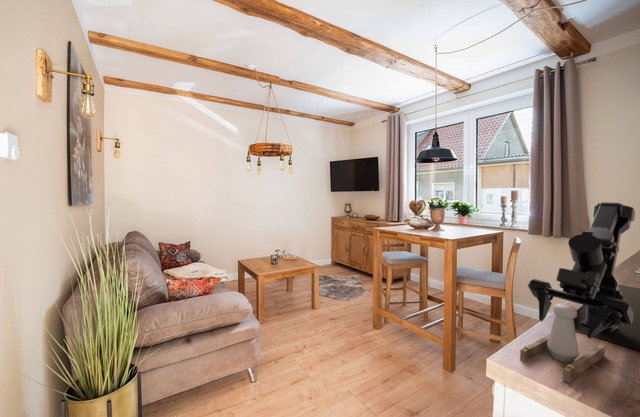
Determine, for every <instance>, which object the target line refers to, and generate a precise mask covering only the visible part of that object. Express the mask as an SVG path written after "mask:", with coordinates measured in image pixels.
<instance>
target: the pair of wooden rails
mask: <svg viewBox="0 0 640 417" xmlns="http://www.w3.org/2000/svg"><path fill="white" fill-rule="evenodd" d="M549 336H550V333H548V335H546V336H544V337H542V338H540V339H538V340H536V341H534V342H533V343H530V344H529V345H525V346H523V348H520V353H519V361H522V362H527V361H529V360H531V359H532V358H534V357H536V356H538V355H539V354H541V353H543V352H545V351H546V350H549V349H548V345H547V343H548V339H549ZM605 352H606V346H605V345H603V344H597V345H596V346H595V347H593V348H592V349H590V350H588V351H587V352H585V354H583V355H581V356H580V357H579V358H576V359H575V360H574V361H573V362H572V363H567V365H566V366H565V367H564V368H563V369H562V381H564V382H566V383H571V382H572V381H574V379H576V378H578V377H579V376H580V375H581V374H583V373H584V372H586V371H587V370H588V369H589V368H591V367H592V366H593V365H594V364H596V363H598V361H600V360H601V359H603V358H604V357H605Z"/></svg>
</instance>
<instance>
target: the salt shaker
mask: <svg viewBox="0 0 640 417" xmlns="http://www.w3.org/2000/svg"><path fill="white" fill-rule="evenodd" d="M552 311H553V313H554V315H555V317H554V320H553V322H552V327H551V330H550V333H549V334H550V336H549V339H548V343H547V345H548V349H547V350H549V352H550V355H551V356H552V358H553V359H554V360H557V361H559V362H561V363H565V364H571V363H573V362H574V361H576V360H577V359H578V357H579V355H580V352H579V350H580V349H579V347H578V346H579V345H578V338H577V334H576V329H575V328H576V327H575V323H574V322H575V321H574V319H575V318H577V316H578V312H577V308H575V307H574V306H572V305H569V304H567V303H562V302H560V303H555V304H554V305H553V306H552Z"/></svg>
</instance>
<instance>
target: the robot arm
mask: <svg viewBox="0 0 640 417" xmlns="http://www.w3.org/2000/svg"><path fill="white" fill-rule="evenodd" d="M592 216H593V220H592V223H591V226H590V227H589V229H586V230H582V232H580V234H577V235H574V236H572V237H571V238H570V239H569V238H568V239H569V240H568V247H569V251H570V256H571V258H572V261H573V262H574V264H573V266H572V268H571V269H568V268H564V267H563V268H561V267H559V268H558V272H557V276H556V281H557V282H559V288H561V289H562V290H559V289H557V288H556V289H555V288H552V284H550V282H549V281H546V280H540V279H536V278H534V279H531V280H530V281H529V283H528V285H527V287H528V288H529V290H530V293H531V294H532V296H533V297H535V299H536V300H537V301H538V320H539V321H540V322H543V321H544V320H545V319H546V317H547V315H548V312H549V311H550V308H551V306H552V305H553V304H552V301H553V299H554V298H558V299H561V300H565V301H569V302H573V303H576V304H579V305H583V306H586V307H585V308H586V309H585V319H583V320H581V321H580V322H579V324H580V325H583V326H586V327H589V329H588V332H587V339H592V338H594V337H596V336H597V335H598V334H600V333H601V332H605V333H608V334H610V333H612V332H613V331H615V330H617V329H618V326H622V325H624V324H625V325H632V323H633V320H634V318H635V317H634V312H633V308H632V305H631V304H630V303H629V302H628V301H627V300H625V297H624V296H623V293H622V291H621V290H620V287H619V283H618V282H617V280H616V278H615V277H614V274H615V268H616V264H617V259H618V258H617V257H618V254H619V252H620V247H619V246H620V240H621V237H622V236H621V235H622V234H623V233H625V232H627V230H630V227H631V222H634V221H635V218H636V217H635V216H636V211H635V209H634V207H632V206H629V205H624V203H620V202H608V201H607V202H605V201H603V202H602V201H601V202H598V203H597V205H594V208H593V215H592ZM617 325H618V326H617Z"/></svg>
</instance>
